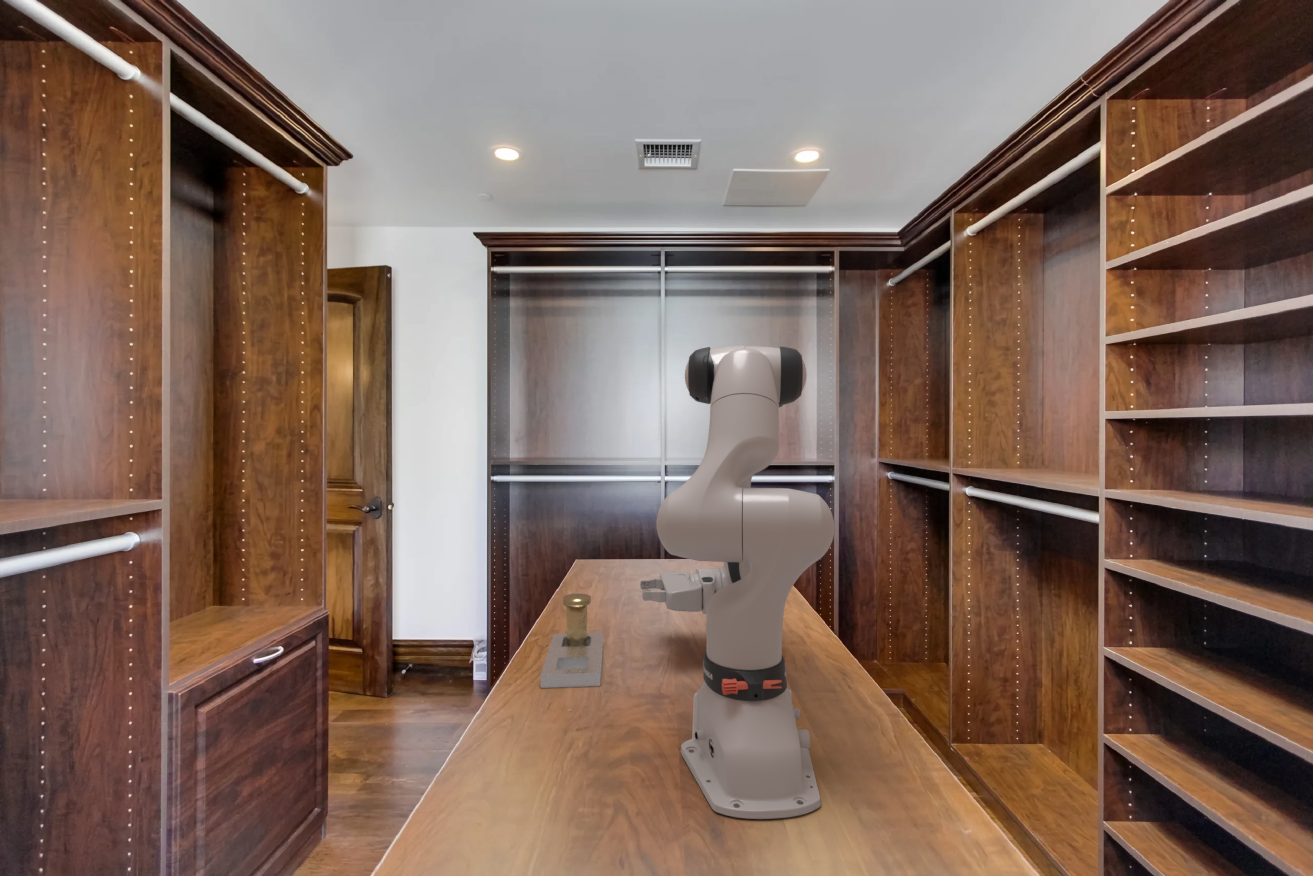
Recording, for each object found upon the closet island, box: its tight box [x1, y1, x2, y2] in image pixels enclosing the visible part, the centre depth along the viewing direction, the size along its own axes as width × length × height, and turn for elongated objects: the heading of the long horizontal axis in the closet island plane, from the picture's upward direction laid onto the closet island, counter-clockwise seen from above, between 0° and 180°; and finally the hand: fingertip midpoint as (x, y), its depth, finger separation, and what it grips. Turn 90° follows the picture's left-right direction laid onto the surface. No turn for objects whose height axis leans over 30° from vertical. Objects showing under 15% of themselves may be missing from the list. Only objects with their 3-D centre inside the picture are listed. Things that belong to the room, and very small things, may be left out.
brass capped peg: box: [562, 592, 592, 647], centre depth 125 cm, size 6×6×12 cm
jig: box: [540, 632, 604, 689], centre depth 119 cm, size 22×11×2 cm, turn 4°
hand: (641, 590), depth 124 cm, fingers open, 8 cm apart
